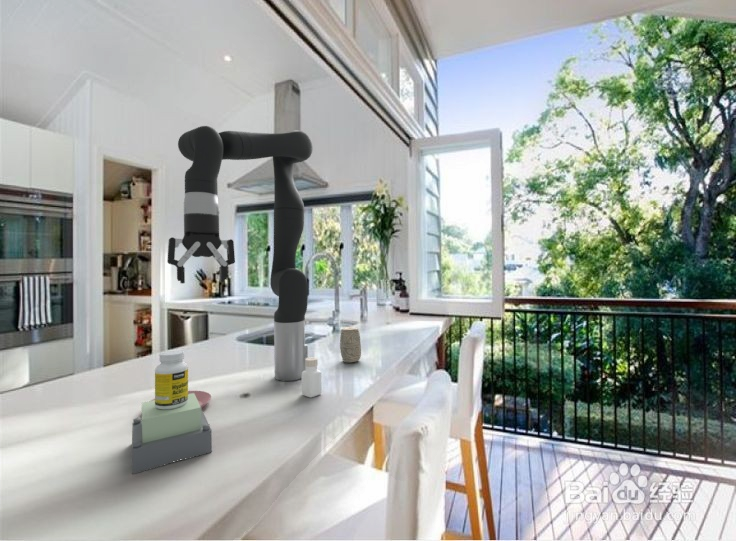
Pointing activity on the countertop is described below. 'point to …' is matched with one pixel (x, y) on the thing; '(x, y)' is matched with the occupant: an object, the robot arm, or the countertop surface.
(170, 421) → the sponge in grey tray
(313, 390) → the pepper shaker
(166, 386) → the supplement bottle
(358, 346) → the carving
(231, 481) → the countertop surface
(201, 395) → the plate
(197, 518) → the countertop surface
